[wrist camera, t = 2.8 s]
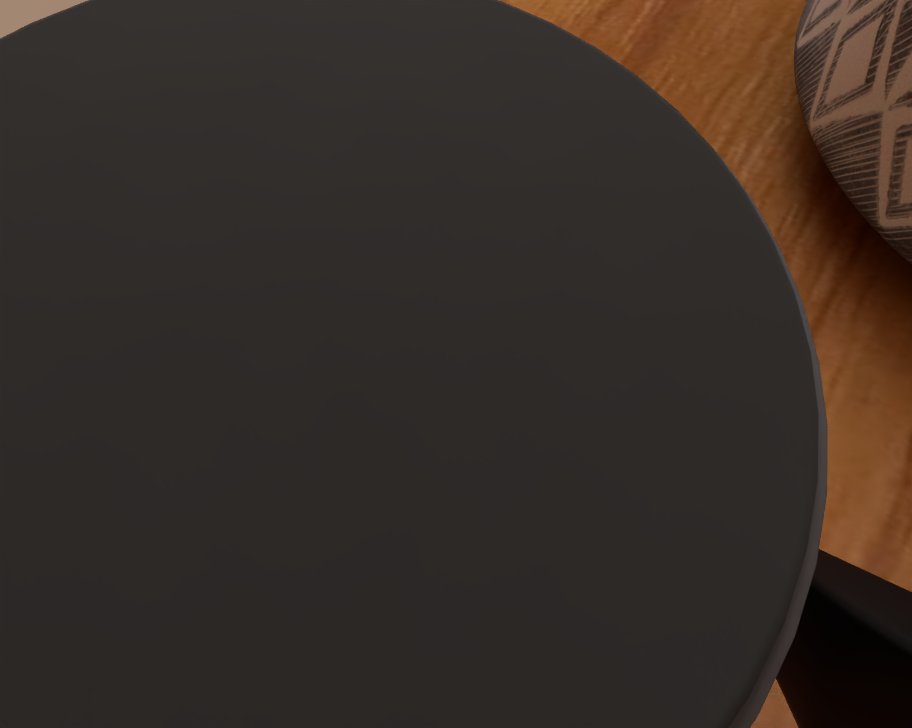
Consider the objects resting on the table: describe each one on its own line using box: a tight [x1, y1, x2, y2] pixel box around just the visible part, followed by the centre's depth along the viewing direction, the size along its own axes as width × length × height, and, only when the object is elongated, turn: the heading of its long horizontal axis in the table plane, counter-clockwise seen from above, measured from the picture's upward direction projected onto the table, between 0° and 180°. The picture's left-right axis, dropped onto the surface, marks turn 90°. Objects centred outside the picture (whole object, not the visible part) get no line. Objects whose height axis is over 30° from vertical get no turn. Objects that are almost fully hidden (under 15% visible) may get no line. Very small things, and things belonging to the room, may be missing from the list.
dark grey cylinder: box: [0, 0, 827, 728], centre depth 9 cm, size 5×5×14 cm
